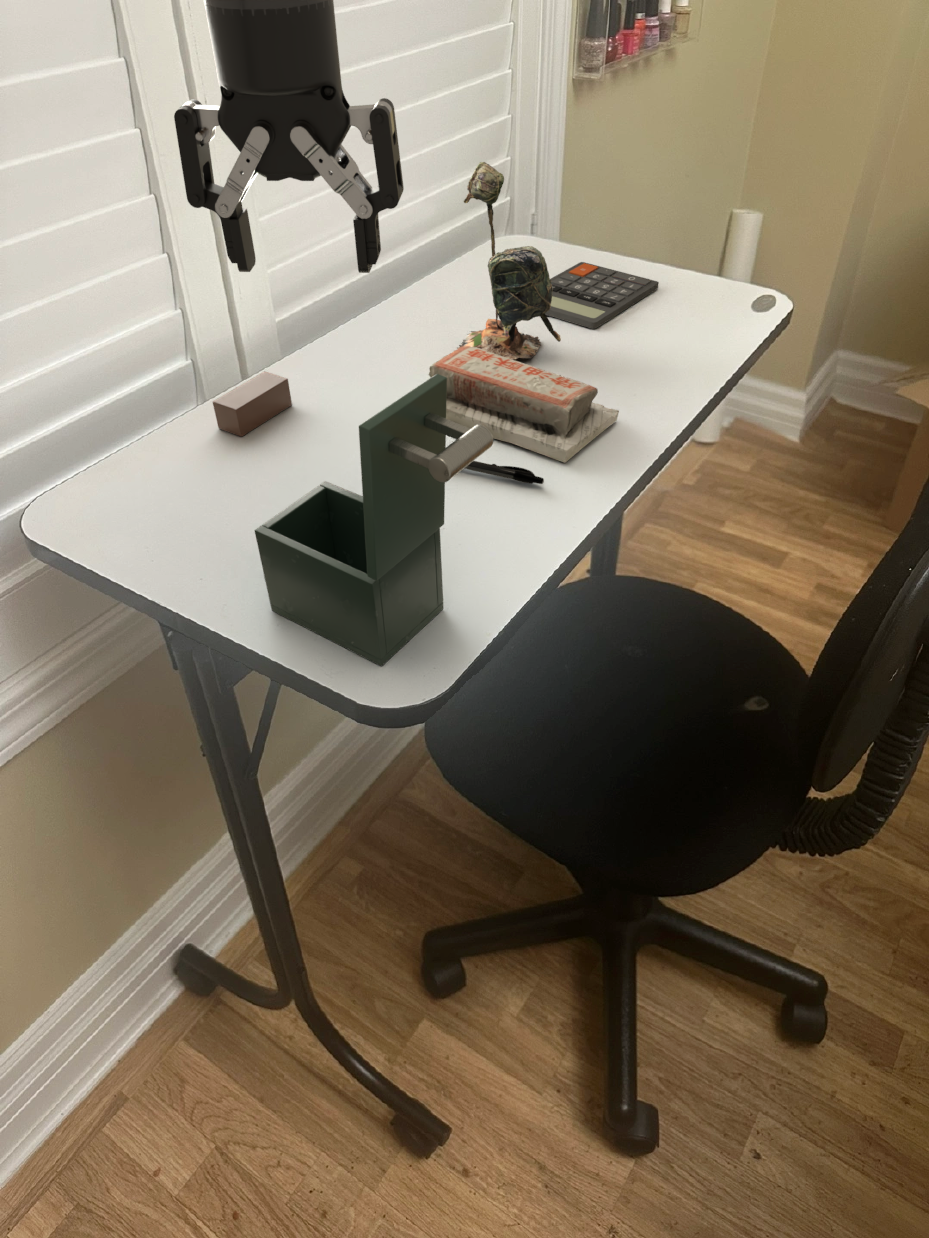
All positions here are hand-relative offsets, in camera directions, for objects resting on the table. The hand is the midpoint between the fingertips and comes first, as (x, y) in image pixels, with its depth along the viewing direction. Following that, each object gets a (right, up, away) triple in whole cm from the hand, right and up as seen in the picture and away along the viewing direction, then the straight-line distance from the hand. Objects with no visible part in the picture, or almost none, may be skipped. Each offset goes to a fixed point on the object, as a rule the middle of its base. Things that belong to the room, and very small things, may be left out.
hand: (306, 268), depth 64 cm
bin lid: (+7, -16, -6) cm, 18 cm away
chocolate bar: (-10, -4, +28) cm, 30 cm away
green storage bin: (+3, -24, +6) cm, 25 cm away
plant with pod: (+16, +5, +38) cm, 41 cm away
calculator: (+26, +15, +48) cm, 57 cm away
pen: (+12, -11, +20) cm, 26 cm away
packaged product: (+16, -5, +27) cm, 32 cm away
